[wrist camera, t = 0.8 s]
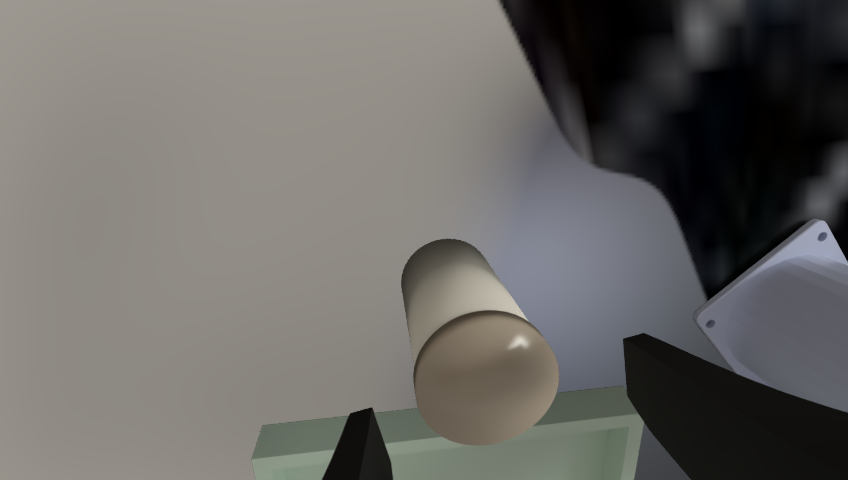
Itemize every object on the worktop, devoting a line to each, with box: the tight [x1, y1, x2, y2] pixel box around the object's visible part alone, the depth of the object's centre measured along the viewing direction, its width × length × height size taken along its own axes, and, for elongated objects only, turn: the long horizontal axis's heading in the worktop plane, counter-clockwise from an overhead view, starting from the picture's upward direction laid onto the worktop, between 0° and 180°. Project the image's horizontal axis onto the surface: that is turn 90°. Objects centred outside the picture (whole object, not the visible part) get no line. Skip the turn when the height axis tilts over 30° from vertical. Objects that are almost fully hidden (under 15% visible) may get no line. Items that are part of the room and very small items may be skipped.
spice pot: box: [401, 239, 559, 446], centre depth 17 cm, size 5×5×8 cm
